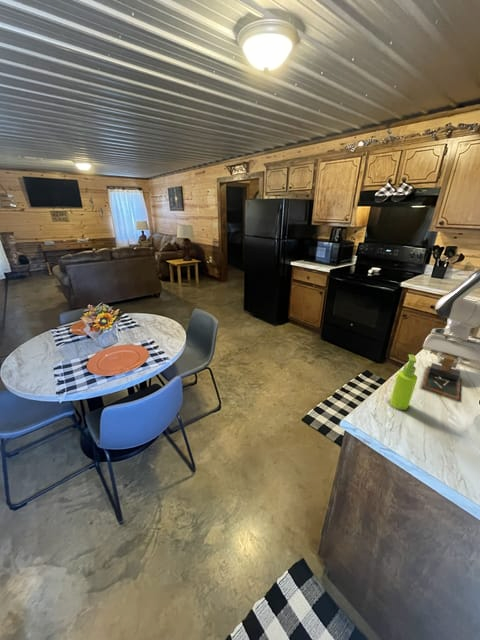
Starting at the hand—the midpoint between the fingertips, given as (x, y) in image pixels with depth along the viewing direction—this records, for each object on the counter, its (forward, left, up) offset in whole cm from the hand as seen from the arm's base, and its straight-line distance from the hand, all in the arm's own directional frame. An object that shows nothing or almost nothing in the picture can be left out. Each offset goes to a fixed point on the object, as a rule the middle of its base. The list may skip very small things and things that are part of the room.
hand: (446, 365), depth 112 cm
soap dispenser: (+29, +17, -7) cm, 34 cm away
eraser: (0, 0, -5) cm, 5 cm away
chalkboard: (+3, +4, -6) cm, 8 cm away
